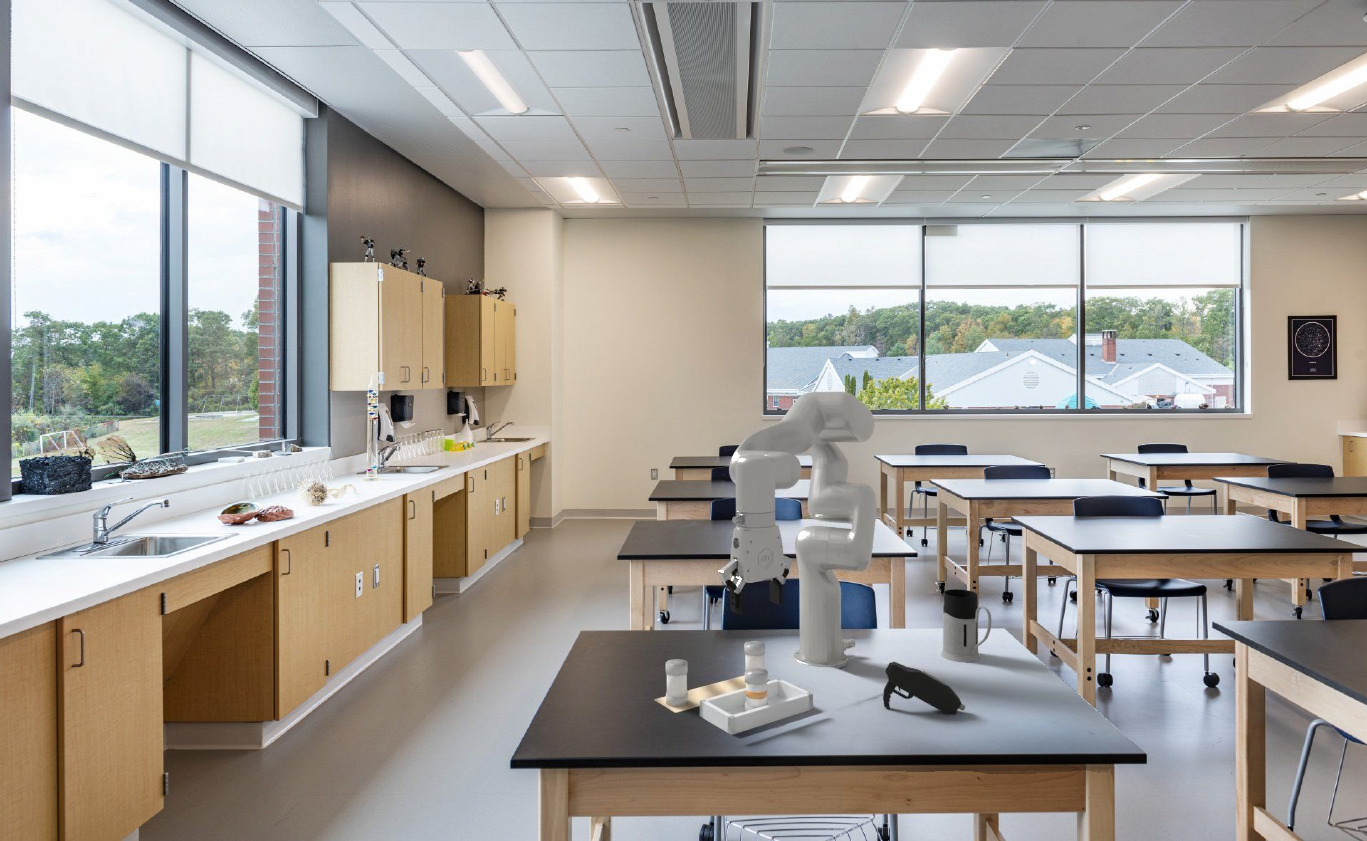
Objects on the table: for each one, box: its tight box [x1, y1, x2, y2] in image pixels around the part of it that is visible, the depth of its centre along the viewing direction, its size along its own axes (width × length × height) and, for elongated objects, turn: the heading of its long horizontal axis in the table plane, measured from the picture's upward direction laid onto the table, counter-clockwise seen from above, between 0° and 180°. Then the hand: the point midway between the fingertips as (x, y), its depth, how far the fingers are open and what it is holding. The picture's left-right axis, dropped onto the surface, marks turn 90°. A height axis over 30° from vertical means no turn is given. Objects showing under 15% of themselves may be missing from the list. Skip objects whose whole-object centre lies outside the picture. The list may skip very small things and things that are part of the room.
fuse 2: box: [743, 640, 766, 683], centre depth 167 cm, size 4×4×8 cm
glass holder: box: [940, 588, 992, 663], centre depth 182 cm, size 9×14×15 cm, turn 21°
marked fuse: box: [744, 668, 769, 711], centre depth 151 cm, size 4×4×8 cm
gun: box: [882, 661, 966, 716], centre depth 154 cm, size 3×16×10 cm, turn 79°
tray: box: [699, 678, 814, 736], centre depth 151 cm, size 20×10×4 cm, turn 124°
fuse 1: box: [665, 658, 689, 707], centre depth 156 cm, size 4×4×8 cm
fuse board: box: [653, 674, 772, 714], centre depth 162 cm, size 26×8×1 cm, turn 124°
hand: (756, 607), depth 151 cm, fingers open, 9 cm apart
